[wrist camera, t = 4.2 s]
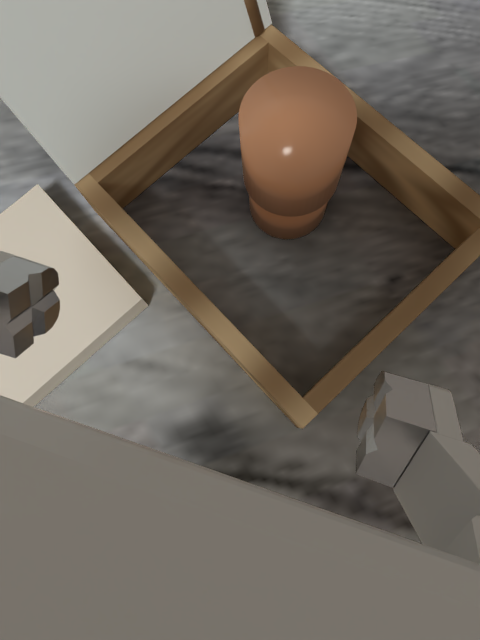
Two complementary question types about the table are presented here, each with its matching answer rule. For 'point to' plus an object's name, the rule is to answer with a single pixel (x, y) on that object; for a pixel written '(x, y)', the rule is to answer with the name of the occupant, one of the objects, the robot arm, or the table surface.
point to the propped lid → (109, 66)
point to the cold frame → (365, 150)
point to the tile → (62, 297)
